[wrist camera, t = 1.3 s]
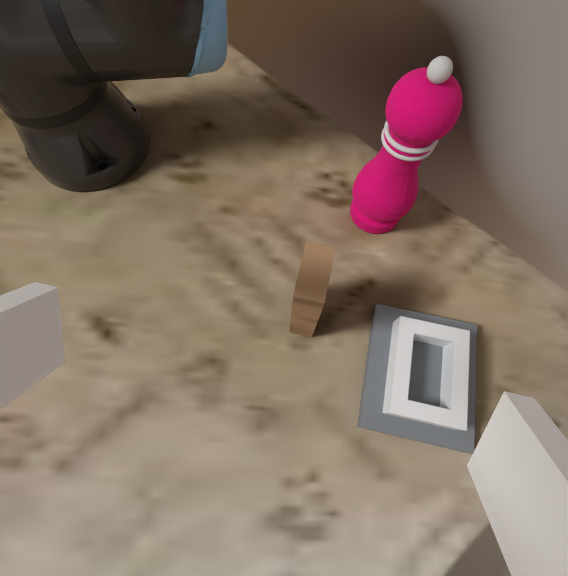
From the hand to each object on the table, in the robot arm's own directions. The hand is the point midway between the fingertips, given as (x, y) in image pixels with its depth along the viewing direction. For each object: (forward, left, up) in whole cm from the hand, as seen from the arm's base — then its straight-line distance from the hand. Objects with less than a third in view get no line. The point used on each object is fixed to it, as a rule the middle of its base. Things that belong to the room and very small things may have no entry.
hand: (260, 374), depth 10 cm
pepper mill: (-25, +7, -27) cm, 38 cm away
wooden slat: (-10, +1, -27) cm, 29 cm away
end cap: (-6, +14, -27) cm, 31 cm away
